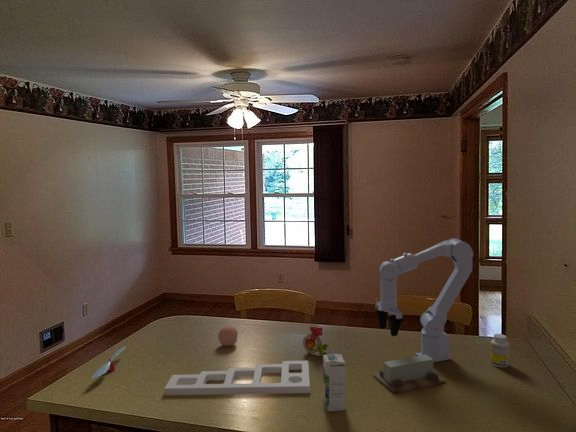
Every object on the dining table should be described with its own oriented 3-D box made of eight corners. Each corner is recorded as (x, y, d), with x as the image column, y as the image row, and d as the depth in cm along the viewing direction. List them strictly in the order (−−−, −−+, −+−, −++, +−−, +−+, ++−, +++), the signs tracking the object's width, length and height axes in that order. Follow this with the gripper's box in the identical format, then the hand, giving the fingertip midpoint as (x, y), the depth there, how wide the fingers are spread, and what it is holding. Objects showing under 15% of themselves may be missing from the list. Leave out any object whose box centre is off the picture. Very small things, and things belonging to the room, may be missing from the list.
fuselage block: (425, 370, 140) (425, 354, 140) (433, 375, 137) (433, 359, 136) (383, 378, 135) (383, 362, 135) (390, 384, 132) (390, 367, 131)
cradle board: (422, 366, 145) (422, 360, 144) (445, 382, 133) (445, 375, 133) (373, 376, 139) (373, 369, 139) (393, 393, 128) (393, 386, 127)
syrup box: (322, 401, 124) (321, 354, 123) (342, 400, 125) (341, 353, 123) (325, 412, 118) (325, 362, 117) (346, 410, 119) (345, 361, 118)
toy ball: (242, 344, 168) (241, 325, 168) (230, 351, 162) (229, 331, 161) (227, 340, 173) (226, 321, 172) (214, 347, 166) (213, 327, 165)
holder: (164, 396, 130) (164, 388, 130) (180, 370, 148) (180, 362, 148) (310, 394, 129) (309, 386, 129) (308, 368, 147) (308, 360, 147)
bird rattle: (307, 362, 155) (329, 355, 152) (295, 335, 155) (316, 327, 153) (310, 355, 161) (332, 348, 158) (299, 329, 161) (320, 321, 159)
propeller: (131, 355, 160) (130, 344, 160) (98, 388, 136) (97, 376, 135) (120, 355, 161) (120, 344, 160) (85, 388, 136) (84, 375, 135)
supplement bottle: (496, 359, 149) (496, 331, 148) (511, 365, 144) (512, 336, 143) (487, 363, 146) (487, 335, 145) (502, 369, 141) (503, 340, 140)
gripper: (368, 291, 157) (368, 326, 158) (389, 302, 143) (389, 340, 144) (385, 289, 159) (385, 324, 160) (407, 299, 145) (407, 337, 146)
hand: (388, 331), depth 152 cm, fingers open, 7 cm apart
